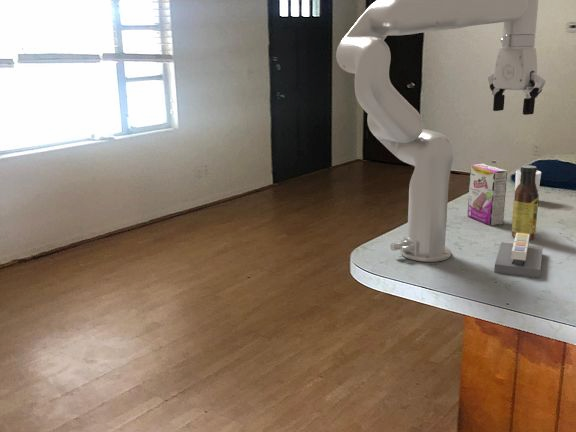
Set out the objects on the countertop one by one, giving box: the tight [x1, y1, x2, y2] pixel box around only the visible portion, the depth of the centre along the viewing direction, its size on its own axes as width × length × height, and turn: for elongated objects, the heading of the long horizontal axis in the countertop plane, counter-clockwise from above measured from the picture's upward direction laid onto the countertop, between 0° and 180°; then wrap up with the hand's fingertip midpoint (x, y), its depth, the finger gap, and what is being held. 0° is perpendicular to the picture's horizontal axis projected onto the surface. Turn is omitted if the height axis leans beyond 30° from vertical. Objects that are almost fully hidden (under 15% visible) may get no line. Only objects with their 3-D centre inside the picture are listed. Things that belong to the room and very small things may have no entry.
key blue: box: [511, 247, 527, 265], centre depth 145 cm, size 3×3×4 cm
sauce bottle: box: [511, 164, 540, 240], centre depth 167 cm, size 7×6×20 cm
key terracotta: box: [513, 241, 529, 255], centre depth 148 cm, size 3×3×4 cm
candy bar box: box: [466, 163, 508, 227], centre depth 183 cm, size 11×5×16 cm, turn 22°
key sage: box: [513, 237, 530, 249], centre depth 152 cm, size 3×3×4 cm
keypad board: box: [493, 241, 544, 278], centre depth 151 cm, size 17×10×2 cm, turn 157°
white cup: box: [514, 168, 542, 192], centre depth 204 cm, size 8×8×10 cm
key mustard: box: [515, 233, 530, 244], centre depth 155 cm, size 3×3×4 cm
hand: (512, 112), depth 156 cm, fingers open, 9 cm apart
